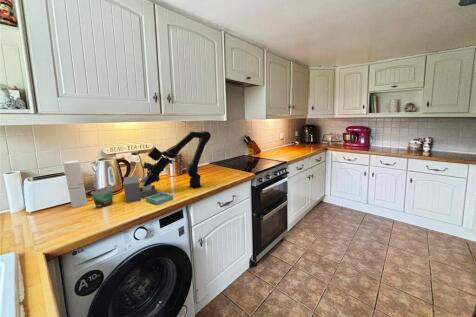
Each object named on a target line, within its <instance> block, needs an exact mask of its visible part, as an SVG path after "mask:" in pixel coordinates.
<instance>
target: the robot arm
mask: <svg viewBox="0 0 476 317" xmlns="http://www.w3.org/2000/svg"><path fill="white" fill-rule="evenodd" d="M211 136H212V135H211V133H210V132H209V131H206V130H203V131H192V130H191V131H190V132H189V133H188V134H186V135H185V136H184V137H183V138H182V139H180V141H179V142H177V143H176V144H175V145H173V146H170V147H169V148H168V149H167V150H164V151H161V150H159V149H158V148H157V147H156V146H154V147H153V148H151V150H150V151H149V152H148V153H147V156H148V157H149V158H150V159H152V161H155V163H154V164H152V163H150V162H146V161H144V163H143V165H142V168H143V169H145V170H146V177H148V179H147V181H146V182H145V184H144V186H147V185H149V184H151V185H152V184H154V183H156V182H157V183H159V181H160V180H161V179H160V174H161V173H162V172H164V171H165V169H166V167H167V166H168V165H169V164H170V165H173V164H174V163H173V159H175V158H177V156H178V154H179V153H180V152H181V150H182V149H183V148H184V147H185V146H186V145H187V144H189V143H190V142H191V141H192V140H193V139H198V144H197V147H196V149H195V152H194V155H193V158H192V161H191V163H188V164H187V167H186V168H185V170H186V171H185V172H186V174H187V175H188V176H189V177H190V178H189V181H188V182H189V186H188V187H189V188H192V189H197V188H200V187H203V186H202V184H201V175H200V174H199V173H198V168H199V162H200V160H201V157H202V155H203V152H204V149H205V146H206V145H207V144H208V143H209V141H210V139H211ZM156 161H157V162H156Z"/></svg>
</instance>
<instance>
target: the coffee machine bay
mask: <svg viewBox="0 0 476 317" xmlns="http://www.w3.org/2000/svg"><path fill="white" fill-rule="evenodd" d="M151 189H152V190H148V191H143V189H142V187H140V179H139V175H133V176H126V177H124V178H123V191H124V197H125V198H124V199H125V203H127V204H128V203H133V202H140V201H142V199H146V197H149V196H152V195H154V194H157V193H158V192H157V189H156V186H155V185H154V184H153V185H152V184H151Z"/></svg>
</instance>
